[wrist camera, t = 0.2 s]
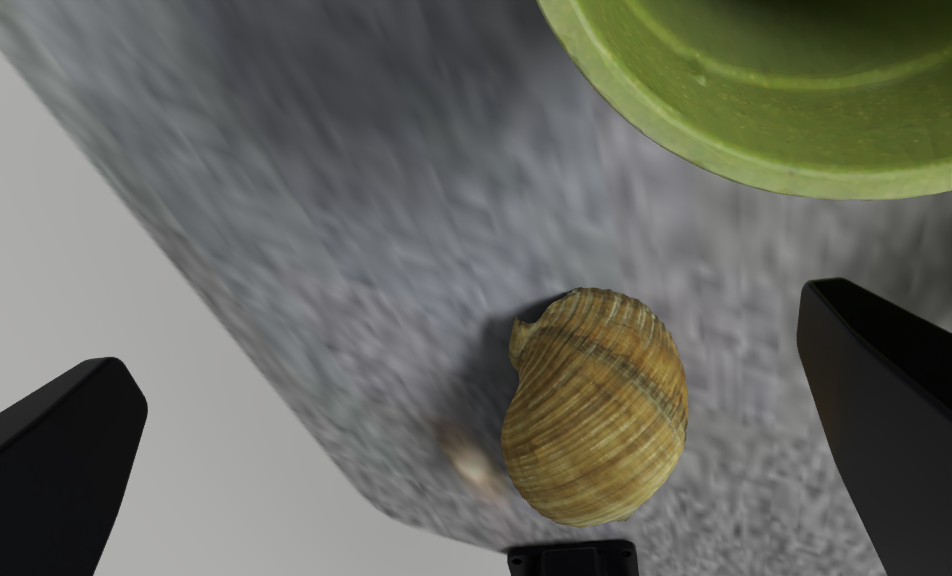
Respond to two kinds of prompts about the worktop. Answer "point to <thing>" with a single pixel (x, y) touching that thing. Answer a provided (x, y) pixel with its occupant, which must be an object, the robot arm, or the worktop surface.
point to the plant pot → (779, 87)
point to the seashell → (593, 408)
